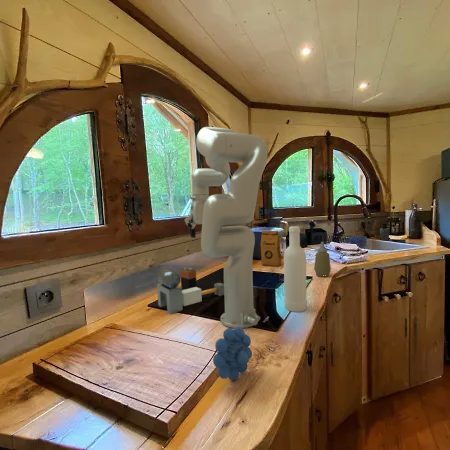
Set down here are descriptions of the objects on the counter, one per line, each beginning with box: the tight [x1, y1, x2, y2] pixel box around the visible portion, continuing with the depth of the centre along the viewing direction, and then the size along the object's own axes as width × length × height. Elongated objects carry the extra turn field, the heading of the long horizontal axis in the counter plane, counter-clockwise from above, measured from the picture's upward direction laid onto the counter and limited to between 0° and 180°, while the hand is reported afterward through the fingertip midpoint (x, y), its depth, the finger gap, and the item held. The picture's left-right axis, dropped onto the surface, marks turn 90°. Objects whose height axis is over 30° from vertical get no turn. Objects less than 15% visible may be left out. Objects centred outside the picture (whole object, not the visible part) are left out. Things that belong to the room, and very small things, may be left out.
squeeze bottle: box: [313, 241, 332, 278], centre depth 138 cm, size 8×8×18 cm
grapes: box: [212, 327, 253, 381], centre depth 57 cm, size 12×7×12 cm, turn 136°
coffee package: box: [260, 230, 282, 267], centre depth 167 cm, size 10×12×22 cm
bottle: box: [283, 225, 308, 313], centre depth 96 cm, size 8×8×30 cm
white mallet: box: [182, 282, 224, 307], centre depth 110 cm, size 4×20×5 cm, turn 127°
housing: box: [156, 268, 183, 315], centre depth 101 cm, size 11×6×14 cm, turn 37°
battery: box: [180, 266, 197, 290], centre depth 124 cm, size 4×7×10 cm, turn 45°
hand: (202, 236), depth 121 cm, fingers open, 9 cm apart
